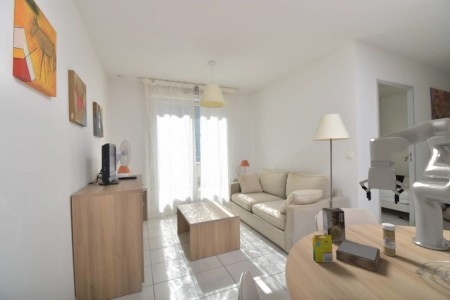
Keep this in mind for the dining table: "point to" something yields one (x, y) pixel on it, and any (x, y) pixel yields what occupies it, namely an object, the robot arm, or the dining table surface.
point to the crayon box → (322, 248)
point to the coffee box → (334, 223)
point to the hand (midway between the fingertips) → (382, 201)
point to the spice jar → (389, 239)
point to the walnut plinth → (358, 255)
